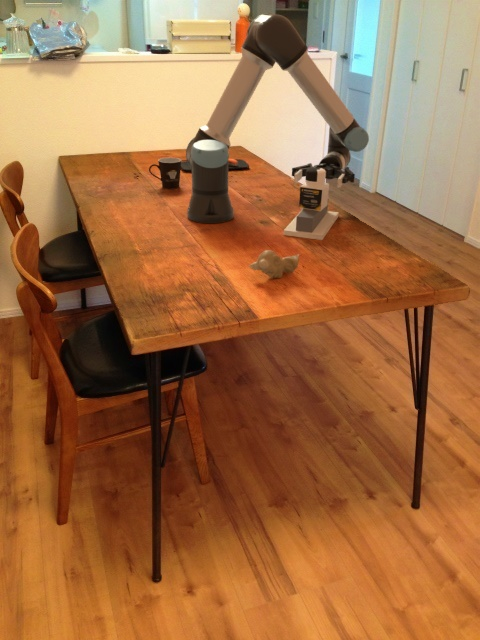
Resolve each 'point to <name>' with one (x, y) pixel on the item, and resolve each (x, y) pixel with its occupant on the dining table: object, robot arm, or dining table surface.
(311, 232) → the stand
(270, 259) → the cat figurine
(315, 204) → the medicine bottle
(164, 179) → the coffee mug
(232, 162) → the sushi plate
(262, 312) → the dining table surface
